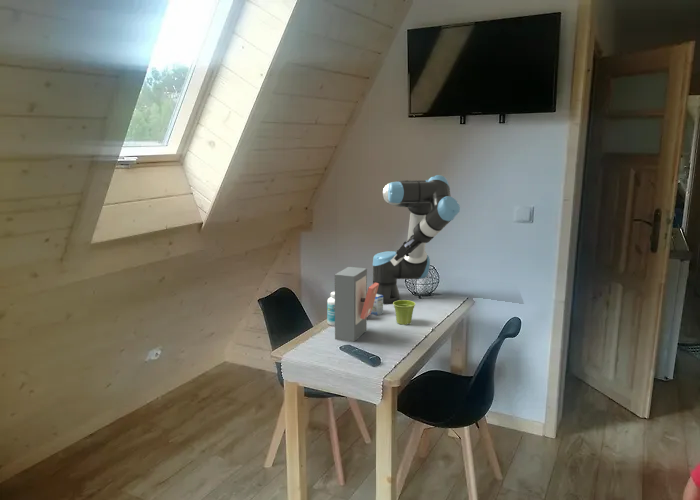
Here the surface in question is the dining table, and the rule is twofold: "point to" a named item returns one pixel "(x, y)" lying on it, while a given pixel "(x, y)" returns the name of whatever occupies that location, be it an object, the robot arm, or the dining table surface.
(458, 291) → the dining table surface
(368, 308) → the salmon pink panel
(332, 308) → the pill bottle
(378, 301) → the medicine box
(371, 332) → the dining table surface
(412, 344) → the dining table surface
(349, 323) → the switch panel
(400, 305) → the plant pot
